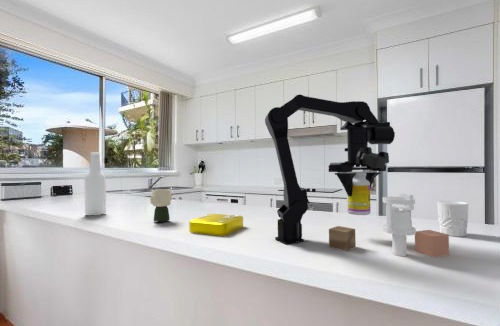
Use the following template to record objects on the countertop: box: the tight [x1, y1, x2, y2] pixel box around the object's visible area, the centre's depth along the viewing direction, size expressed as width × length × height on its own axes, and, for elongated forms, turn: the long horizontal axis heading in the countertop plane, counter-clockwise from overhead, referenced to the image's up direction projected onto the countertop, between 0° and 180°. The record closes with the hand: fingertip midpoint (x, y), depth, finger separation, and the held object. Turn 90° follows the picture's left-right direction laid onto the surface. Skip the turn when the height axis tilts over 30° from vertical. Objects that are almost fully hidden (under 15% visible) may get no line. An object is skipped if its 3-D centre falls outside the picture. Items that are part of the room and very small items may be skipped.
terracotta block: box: [414, 229, 450, 258], centre depth 66 cm, size 5×5×5 cm
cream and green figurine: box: [149, 188, 173, 223], centre depth 108 cm, size 11×7×13 cm, turn 152°
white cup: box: [436, 200, 469, 238], centre depth 83 cm, size 8×8×10 cm
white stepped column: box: [382, 193, 417, 257], centre depth 65 cm, size 7×7×15 cm
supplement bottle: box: [346, 170, 371, 216], centre depth 80 cm, size 7×7×13 cm
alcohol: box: [84, 151, 107, 216], centre depth 127 cm, size 9×9×30 cm
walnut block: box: [328, 225, 357, 252], centre depth 71 cm, size 5×5×5 cm
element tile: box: [188, 213, 244, 237], centre depth 94 cm, size 15×15×5 cm
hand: (358, 195), depth 80 cm, fingers closed on supplement bottle, 7 cm apart
